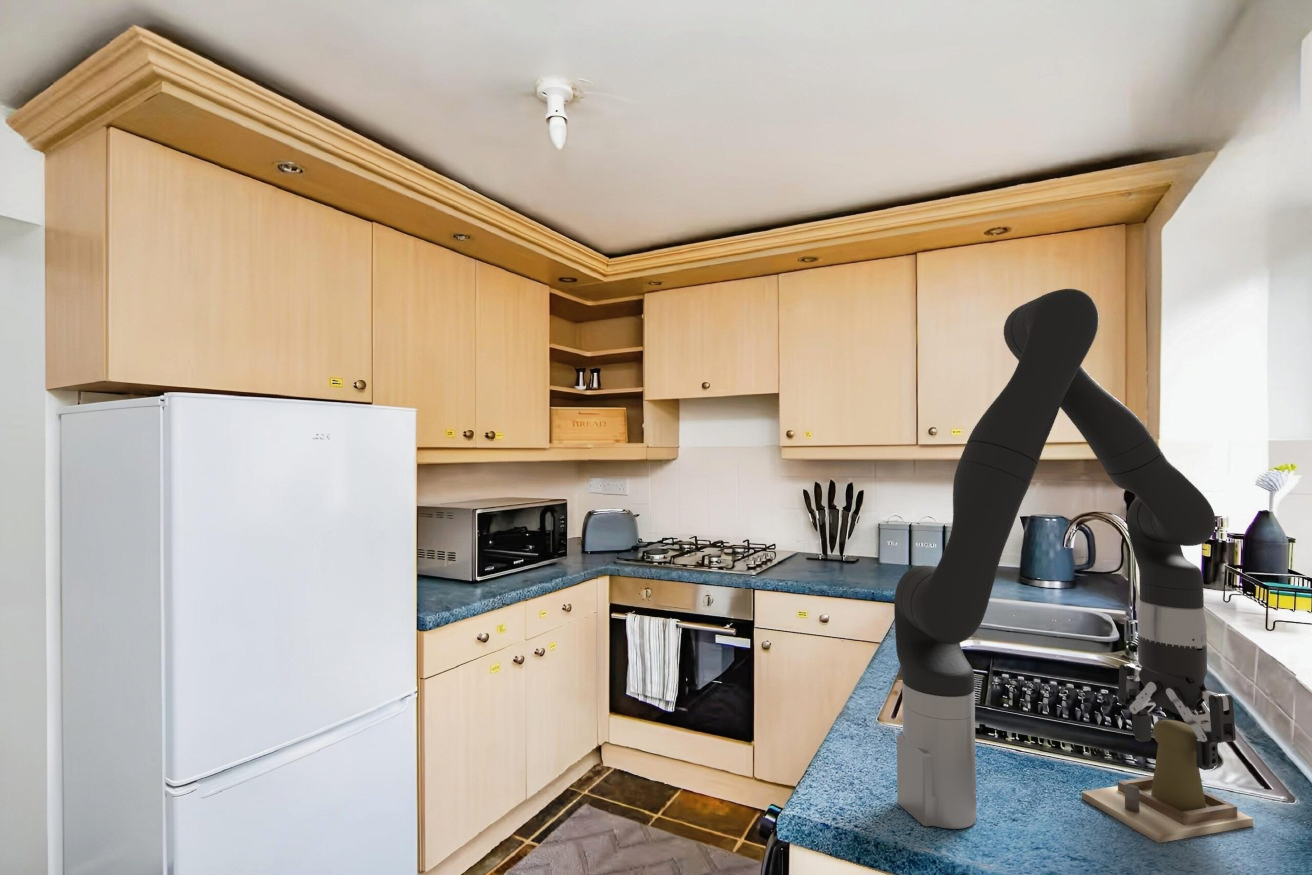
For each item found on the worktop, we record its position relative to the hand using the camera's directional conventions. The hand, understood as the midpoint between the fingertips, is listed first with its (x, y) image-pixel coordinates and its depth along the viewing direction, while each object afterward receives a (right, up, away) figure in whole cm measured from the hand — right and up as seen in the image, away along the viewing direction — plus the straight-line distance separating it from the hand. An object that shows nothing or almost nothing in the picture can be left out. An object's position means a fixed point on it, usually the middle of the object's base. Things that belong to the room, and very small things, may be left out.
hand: (1173, 753), depth 89 cm
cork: (0, -7, -1) cm, 7 cm away
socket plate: (-2, -8, -1) cm, 8 cm away
